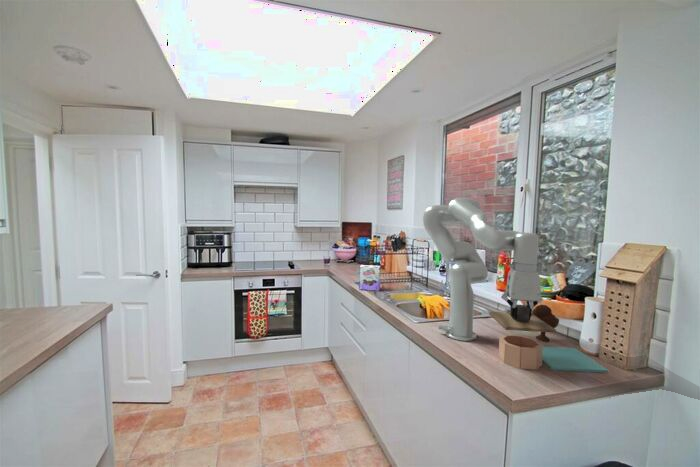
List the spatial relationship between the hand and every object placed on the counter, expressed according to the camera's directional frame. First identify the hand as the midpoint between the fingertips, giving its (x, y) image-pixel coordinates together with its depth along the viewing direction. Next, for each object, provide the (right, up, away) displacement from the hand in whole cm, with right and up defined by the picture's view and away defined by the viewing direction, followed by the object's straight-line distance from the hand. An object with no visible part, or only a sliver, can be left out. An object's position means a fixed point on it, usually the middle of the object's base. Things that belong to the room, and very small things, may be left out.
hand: (520, 317), depth 116 cm
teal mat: (+17, -16, +2) cm, 23 cm away
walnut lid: (0, -2, 0) cm, 2 cm away
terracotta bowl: (0, -16, 0) cm, 16 cm away
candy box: (-48, -8, +105) cm, 115 cm away
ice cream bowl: (+20, -15, +21) cm, 33 cm away
